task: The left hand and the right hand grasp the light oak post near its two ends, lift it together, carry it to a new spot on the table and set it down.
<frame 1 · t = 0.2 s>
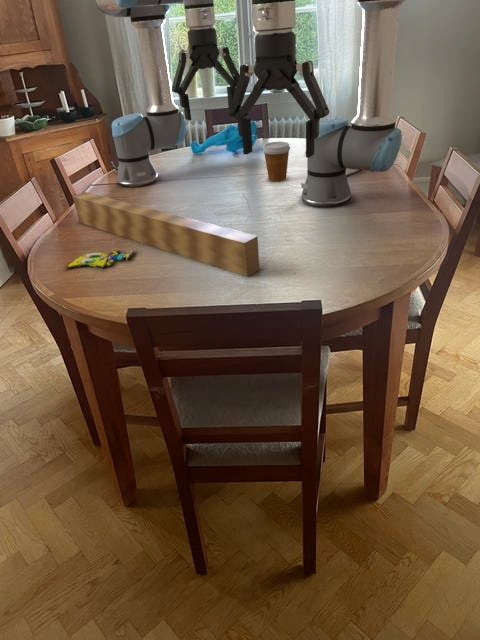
left hand: (210, 115, 136), 28 cm above the table, tool pointing down, fingers open, 13 cm apart
right hand: (278, 154, 97), 27 cm above the table, tool pointing down, fingers open, 13 cm apart
disposable coffee cup: (277, 179, 172), on the table
toy 2: (101, 260, 126), on the table
toy: (224, 152, 211), on the table
musical instrument: (322, 163, 185), on the table
post: (157, 242, 133), on the table
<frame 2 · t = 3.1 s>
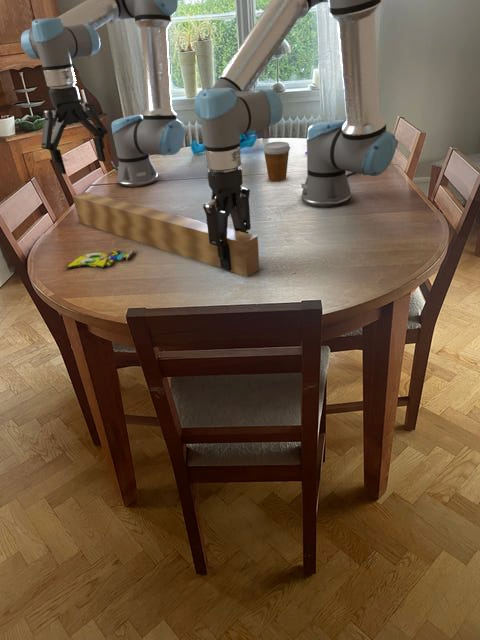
left hand: (82, 167, 139), 18 cm above the table, tool pointing down, fingers open, 13 cm apart
right hand: (233, 264, 116), 1 cm above the table, tool pointing down, fingers closed on post, 5 cm apart
post: (157, 242, 133), on the table, touching right hand
everything else where it was.
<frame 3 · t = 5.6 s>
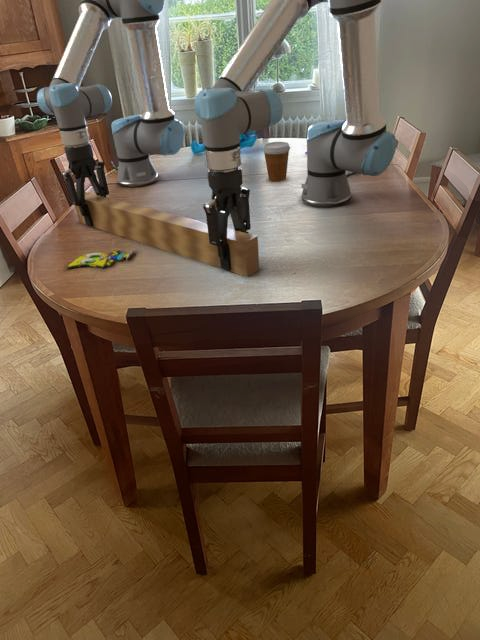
left hand: (96, 222, 148), 1 cm above the table, tool pointing down, fingers closed on post, 5 cm apart
right hand: (233, 264, 116), 1 cm above the table, tool pointing down, fingers closed on post, 5 cm apart
post: (157, 242, 133), on the table, touching left hand, right hand
everything else where it was.
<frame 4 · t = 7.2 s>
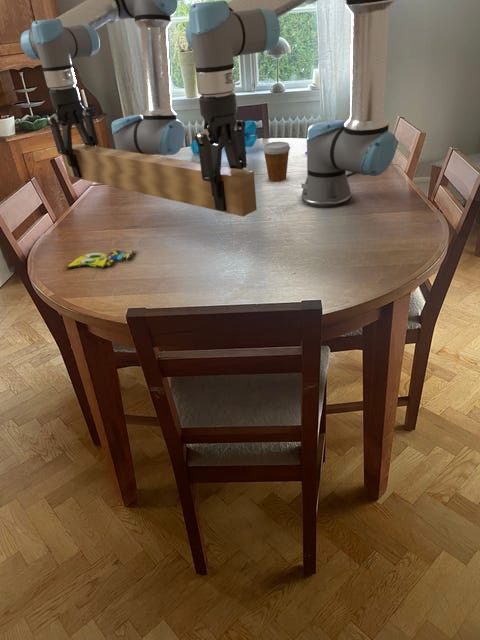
left hand: (85, 174, 141), 15 cm above the table, tool pointing down, fingers closed on post, 5 cm apart
right hand: (228, 205, 109), 15 cm above the table, tool pointing down, fingers closed on post, 5 cm apart
post: (148, 190, 125), point 15 cm above the table, touching left hand, right hand
everything else where it was.
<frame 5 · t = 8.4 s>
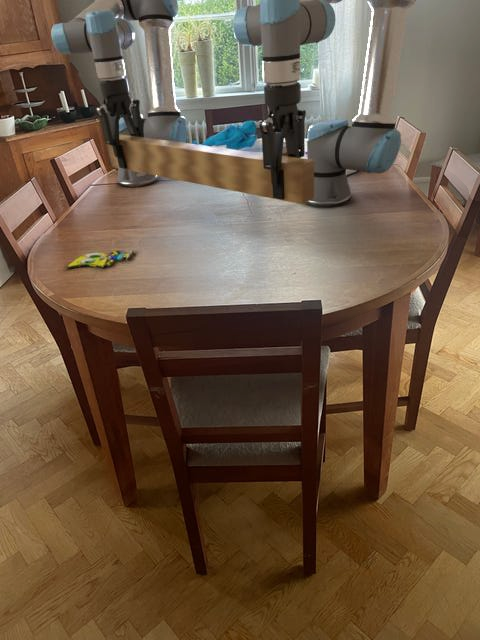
left hand: (130, 165, 142), 16 cm above the table, tool pointing down, fingers closed on post, 5 cm apart
right hand: (285, 194, 110), 16 cm above the table, tool pointing down, fingers closed on post, 5 cm apart
post: (198, 180, 127), point 15 cm above the table, touching left hand, right hand
everything else where it was.
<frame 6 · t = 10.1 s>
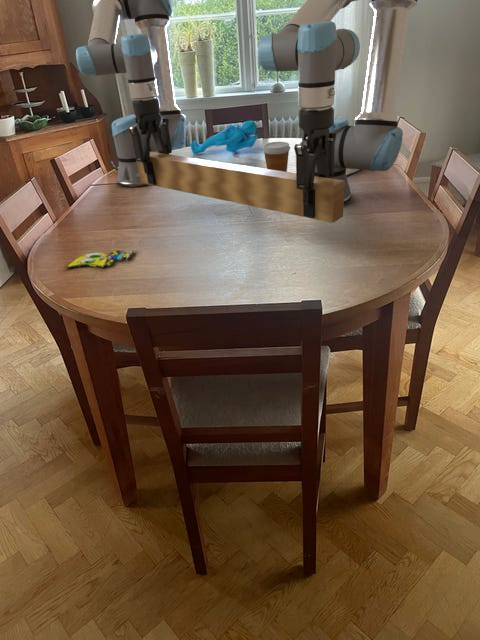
left hand: (158, 181, 146), 10 cm above the table, tool pointing down, fingers closed on post, 5 cm apart
right hand: (315, 212, 114), 10 cm above the table, tool pointing down, fingers closed on post, 5 cm apart
post: (227, 197, 131), point 10 cm above the table, touching left hand, right hand
everything else where it was.
when the left hand's fingers open (2 cm above the table, at t = 11.6 s): post stays where it is, on the table.
when the right hand's fingers open (2 cm above the table, at t = 11.6 s): post stays where it is, on the table.
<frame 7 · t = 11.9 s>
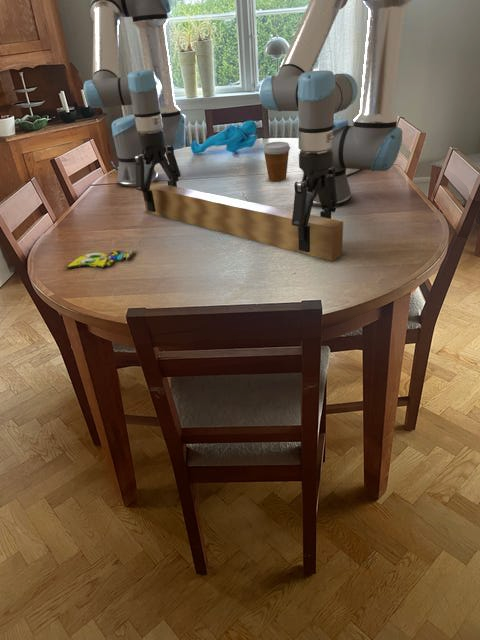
left hand: (163, 206, 151), 2 cm above the table, tool pointing down, fingers open, 9 cm apart
right hand: (315, 243, 119), 2 cm above the table, tool pointing down, fingers open, 9 cm apart
post: (231, 230, 136), on the table
everything else where it was.
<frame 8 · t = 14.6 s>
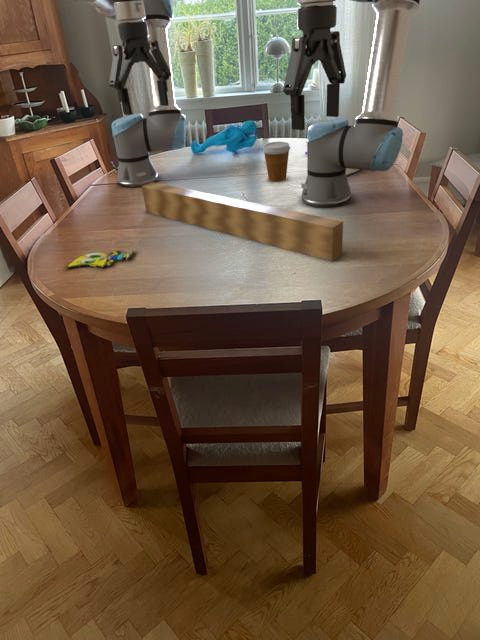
left hand: (146, 109, 135), 31 cm above the table, tool pointing down, fingers open, 13 cm apart
right hand: (315, 122, 103), 31 cm above the table, tool pointing down, fingers open, 13 cm apart
nothing on the table moved.
at the end: post inside the target area (0.2 cm from its centre), on the table; post tilted 0°; post never tilted more than 2° during the clip; both hands held the post at the same time; the left hand is holding nothing; the right hand is holding nothing; post at rest at the end (0.0 cm/s) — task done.
